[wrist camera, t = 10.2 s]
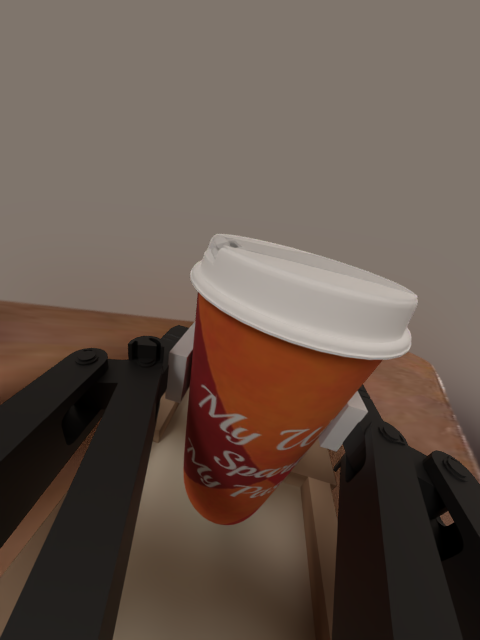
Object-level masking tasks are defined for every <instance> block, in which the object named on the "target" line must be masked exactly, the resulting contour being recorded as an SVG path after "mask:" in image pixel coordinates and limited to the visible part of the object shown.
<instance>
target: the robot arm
mask: <svg viewBox="0 0 480 640" xmlns="http://www.w3.org/2000/svg"><path fill="white" fill-rule="evenodd" d="M194 332H195V322H194V323H193V324H192V326H191V327H190V328H187V327H183V326H180V325H178V326H175V327H173V328H171V329H170V330H169V331H168V332H167V333H166V334H165V335H164V336H163V337H162V338H161V339H159V338H157V337H153V336H141V337H137V338H135V339H133V340H131V341H130V342H129V343H128V357H129V360H115V359H108V356H107V353H106V352H105V351H104V350H101V349H97V348H87V349H82V350H78V351H76V352H74V353H72V354H70V355H69V356H67V357H66V358H64V359H63V360H62V361H60V362H59V363H58V364H56V365H55V366H54V367H52V368H51V369H49V370H48V371H47V372H45V373H44V374H43V375H41V376H40V377H38V378H37V379H36V380H34V381H33V382H32V383H30V384H29V385H28V386H26V387H25V388H23V389H22V390H21V391H19V392H18V393H17V394H15V395H14V396H12V397H11V398H10V399H8V400H7V401H6V402H4V403H3V404H2V405H0V548H1V547H2V546H3V544H4V543H5V542H6V540H7V539H8V538H9V537H10V535H11V534H12V533H13V531H14V530H15V529H16V528H17V526H18V525H19V524H20V522H21V521H22V520H23V518H24V517H25V516H26V515H27V513H28V512H29V511H30V509H31V508H32V507H33V506H34V504H35V503H36V502H37V500H38V499H39V498H40V496H41V495H42V494H43V493H44V491H45V490H46V489H47V487H48V486H49V485H50V484H51V482H52V481H53V480H54V478H55V477H56V476H57V474H58V473H59V472H60V471H61V469H62V468H63V467H64V465H65V464H66V463H67V461H68V460H69V459H70V458H71V456H72V455H73V454H74V452H75V451H76V450H77V449H78V447H79V446H80V445H81V443H82V442H83V441H84V439H85V438H86V437H87V436H88V434H89V433H90V432H91V430H92V429H93V428H94V427H95V425H96V424H97V423H98V421H99V420H100V419H101V417H102V416H103V417H102V419H101V421H100V423H99V425H98V427H97V430H96V432H95V434H94V436H93V438H92V440H91V443H90V445H89V447H88V449H87V451H86V453H85V456H84V458H83V460H82V462H81V464H80V466H79V468H78V471H77V473H76V475H75V477H74V479H73V481H72V484H71V486H70V488H69V490H68V492H67V494H66V497H65V499H64V501H63V503H62V505H61V507H60V509H59V512H58V514H57V516H56V518H55V520H54V522H53V525H52V527H51V529H50V531H49V533H48V535H47V538H46V540H45V542H44V544H43V546H42V548H41V550H40V553H39V555H38V557H37V559H36V561H35V563H34V566H33V568H32V570H31V572H30V574H29V576H28V578H27V581H26V583H25V585H24V587H23V589H22V591H21V594H20V596H19V598H18V600H17V602H16V604H15V607H14V609H13V611H12V613H11V615H10V617H9V619H8V622H7V624H6V626H5V628H4V630H3V632H2V635H1V637H0V640H113V635H114V630H115V625H116V620H117V615H118V610H119V605H120V600H121V596H122V591H123V586H124V581H125V576H126V571H127V566H128V561H129V556H130V551H131V546H132V541H133V536H134V531H135V526H136V521H137V516H138V511H139V506H140V501H141V496H142V492H143V487H144V482H145V477H146V472H147V467H148V462H149V457H150V452H151V447H152V442H153V437H154V432H155V427H156V422H157V417H158V412H159V407H160V399H161V397H162V396H163V394H164V393H165V391H166V393H165V399H168V400H171V401H174V402H178V403H181V401H182V399H183V398H184V396H185V394H186V392H187V390H188V388H189V386H190V377H191V366H192V354H193V343H194ZM319 443H320V447H323V448H327V449H330V450H333V451H336V452H337V450H338V449H339V448H340V447H341V445H342V444H343V445H344V449H345V452H346V453H345V454H344V455H343V456H342V458H341V459H340V460H339V461H338V463H337V464H336V465H335V466H334V469H333V470H334V471H335V472H336V471H337V470H338V469H339V467H341V470H340V489H339V509H338V528H337V547H336V566H335V585H334V604H333V623H332V640H480V484H479V483H478V481H477V480H476V479H475V477H474V476H473V475H472V474H471V473H470V472H469V470H468V469H467V468H466V467H464V466H463V465H462V464H461V463H460V462H459V461H458V460H456V459H455V458H453V457H452V456H450V455H448V454H446V453H444V452H441V451H437V450H436V451H433V452H432V453H431V454H430V455H428V456H426V455H424V454H422V453H421V452H419V451H417V450H415V449H413V448H411V447H410V446H408V444H407V442H406V439H405V438H404V437H403V436H402V434H401V433H400V432H399V431H398V430H397V429H396V428H394V427H393V426H392V425H390V424H388V423H387V422H384V421H383V420H382V418H381V416H380V414H379V413H378V411H377V409H376V407H375V405H374V404H373V402H372V400H371V399H370V396H369V395H368V393H367V391H366V389H365V387H364V386H363V384H362V386H361V387H360V388H359V389H358V391H357V392H356V393H355V394H354V395H353V397H352V398H351V399H350V400H349V401H348V403H347V404H346V405H345V406H344V407H343V409H342V410H341V411H340V412H339V414H338V415H337V416H336V417H335V418H334V420H333V421H332V422H331V423H330V424H329V426H328V427H327V428H326V429H325V430H324V432H323V433H322V434H321V435H320V437H319ZM447 511H449V513H450V515H451V517H452V519H453V520H454V523H452V524H451V525H449V526H446V525H445V524H444V523H443V521H442V520H441V518H440V516H441V515H442V514H444V513H445V512H447Z"/></svg>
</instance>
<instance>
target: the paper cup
mask: <svg viewBox="0 0 480 640" xmlns="http://www.w3.org/2000/svg"><path fill="white" fill-rule="evenodd" d="M190 279H191V283H192V284H193V286H194V287H195V289H196V290H197V291H198V298H197V309H196V320H195V332H194V343H193V354H192V366H191V377H190V388H189V400H188V412H187V424H186V436H185V449H184V466H183V472H184V484H185V489H186V492H187V495H188V498H189V500H190V502H191V503H192V505H193V507H194V508H195V509H196V510H197V512H198V513H199V514H200V515H202V516H203V517H204V518H205V519H207V520H209V521H211V522H213V523H216V524H220V525H234V524H237V523H240V522H242V521H244V520H246V519H247V518H249V517H250V516H251V515H253V514H254V513H255V512H256V511H257V510H258V509H259V508H260V507H261V506H262V504H263V503H264V502H265V501H266V500H267V499H268V498H269V496H270V495H271V494H272V493H273V492H274V491H275V489H276V488H277V487H278V486H279V485H280V483H281V482H282V481H283V480H284V479H285V478H286V476H287V475H288V474H289V473H290V472H291V470H292V469H293V468H294V467H295V466H296V464H297V463H298V462H299V461H300V460H301V458H302V457H303V456H304V455H305V454H306V452H307V451H308V450H309V449H310V447H311V446H312V445H313V444H314V443H315V441H316V440H317V439H318V438H319V437H320V435H321V434H322V433H323V432H324V430H325V429H326V428H327V427H328V426H329V424H330V423H331V422H332V421H333V420H334V418H335V417H336V416H337V415H338V414H339V412H340V411H341V410H342V409H343V407H344V406H345V405H346V404H347V403H348V401H349V400H350V399H351V398H352V397H353V395H354V394H355V393H356V392H357V391H358V389H359V388H360V387H361V386H362V384H363V383H364V382H365V381H366V380H367V378H368V377H369V376H370V375H371V374H372V372H373V371H374V370H375V369H376V368H377V366H378V365H379V364H380V363H381V362H382V360H388V359H392V358H397V357H401V356H402V355H404V354H405V353H407V352H408V351H409V349H410V346H411V339H412V337H411V333H410V331H409V329H408V328H407V325H408V323H409V321H410V319H411V317H412V315H413V313H414V311H415V309H416V306H417V304H418V300H417V297H418V296H417V295H416V294H415V293H413V292H412V291H410V290H409V289H407V288H405V287H403V286H402V285H400V284H398V283H395V282H393V281H391V280H388V279H386V278H383V277H381V276H378V275H376V274H373V273H371V272H368V271H365V270H362V269H360V268H357V267H354V266H351V265H348V264H345V263H342V262H339V261H335V260H332V259H329V258H326V257H323V256H320V255H316V254H312V253H309V252H306V251H302V250H298V249H294V248H291V247H287V246H283V245H279V244H275V243H271V242H267V241H263V240H258V239H253V238H248V237H243V236H237V235H229V234H215V235H214V236H213V237H212V238H211V241H210V244H209V247H208V249H207V250H206V251H205V253H204V257H203V260H201V261H199V262H197V263H196V264H195V265H194V267H193V269H192V270H191V273H190Z"/></svg>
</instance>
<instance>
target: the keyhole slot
mask: <svg viewBox="0 0 480 640" xmlns="http://www.w3.org/2000/svg"><path fill="white" fill-rule="evenodd" d="M189 388H190V386H189ZM189 388H188V390H187V392H186V394H185V396H184V398H183V399H182V401H181V403H178V402H174V401H171V400H168V399H165V393H166V391H165V393H164V394H163V396H162V397H161V399H160V407H159V412H158V417H157V422H156V427H155V432H154V437H153V442H152V447H151V452H150V457H149V462H148V467H147V472H146V477H145V482H144V487H143V492H142V496H141V501H140V506H139V511H138V516H137V521H136V526H135V531H134V536H133V541H132V546H131V551H130V556H129V561H128V566H127V571H126V576H125V581H124V586H123V591H122V596H121V600H120V605H119V610H118V615H117V620H116V625H115V630H114V635H113V640H332V623H333V604H334V585H335V566H336V547H337V528H338V520H337V515H336V511H335V506H334V501H333V497H332V492H331V491H332V490H333V489H334V488H335V487H336V486H337V485H336V480H335V476H334V472H333V468H332V464H331V460H330V456H329V451H328V449H327V448H323V447H320V443H319V438H318V439H317V440H316V441H315V443H314V444H313V445H312V446H311V447H310V449H309V450H308V451H307V452H306V454H305V455H304V456H303V457H302V458H301V460H300V461H299V462H298V463H297V464H296V466H295V467H294V468H293V469H292V470H291V472H290V473H289V474H288V475H287V476H286V478H285V479H284V480H283V481H282V482H281V483H280V485H279V486H278V487H277V488H276V489H275V491H274V492H273V493H272V494H271V495H270V496H269V498H268V499H267V500H266V501H265V502H264V503H263V504H262V506H261V507H260V508H259V509H258V510H257V511H256V512H255V513H254V514H253V515H251V516H250V517H249V518H247V519H246V520H244V521H242V522H240V523H237V524H234V525H220V524H216V523H213V522H211V521H209V520H207V519H205V518H204V517H203V516H202V515H200V514H199V513H198V512H197V510H196V509H195V508H194V507H193V505H192V503H191V502H190V500H189V498H188V495H187V492H186V489H185V484H184V472H183V466H184V449H185V436H186V424H187V412H188V400H189ZM67 492H68V491H67ZM66 494H67V493H66ZM66 494H65V495H64V496H63V498H62V499H61V500H60V502H59V503H58V504H57V505H56V507H55V508H54V509H53V511H52V512H51V513H50V514H49V516H48V517H47V518H46V520H45V521H44V522H43V523H42V525H41V526H40V527H39V529H38V530H37V531H36V532H35V534H34V535H33V536H32V538H31V539H30V540H29V541H28V543H27V544H26V545H25V547H24V548H23V549H22V550H21V552H20V553H19V554H18V556H17V557H16V558H15V559H14V561H13V562H12V563H11V565H10V566H9V567H8V568H7V570H6V571H5V572H4V574H3V575H2V576H1V577H0V637H1V635H2V632H3V630H4V628H5V626H6V624H7V622H8V619H9V617H10V615H11V613H12V611H13V609H14V607H15V604H16V602H17V600H18V598H19V596H20V594H21V591H22V589H23V587H24V585H25V583H26V581H27V578H28V576H29V574H30V572H31V570H32V568H33V566H34V563H35V561H36V559H37V557H38V555H39V553H40V550H41V548H42V546H43V544H44V542H45V540H46V538H47V535H48V533H49V531H50V529H51V527H52V525H53V522H54V520H55V518H56V516H57V514H58V512H59V509H60V507H61V505H62V503H63V501H64V499H65V497H66Z"/></svg>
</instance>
